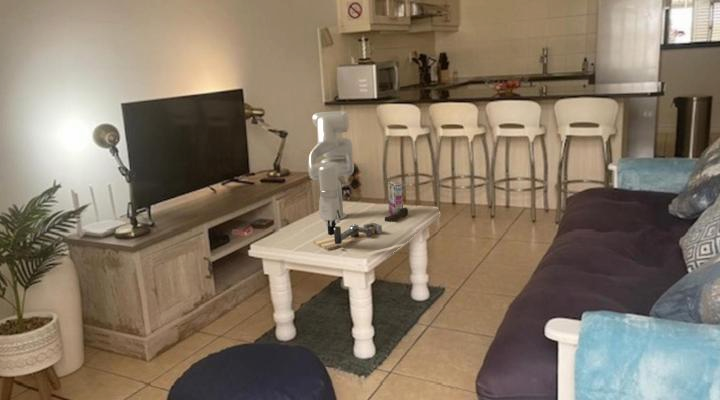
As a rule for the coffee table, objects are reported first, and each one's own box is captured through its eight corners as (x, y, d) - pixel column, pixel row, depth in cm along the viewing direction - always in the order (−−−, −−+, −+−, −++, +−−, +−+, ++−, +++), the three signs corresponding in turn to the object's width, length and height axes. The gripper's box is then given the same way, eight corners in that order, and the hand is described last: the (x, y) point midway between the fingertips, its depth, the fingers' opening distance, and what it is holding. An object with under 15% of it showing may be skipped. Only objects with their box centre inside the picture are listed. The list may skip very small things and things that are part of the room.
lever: (332, 246, 257) (331, 228, 255) (353, 233, 275) (352, 216, 273) (352, 248, 253) (351, 229, 251) (372, 235, 270) (371, 217, 268)
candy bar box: (404, 215, 307) (402, 184, 303) (395, 216, 305) (393, 185, 302) (397, 210, 317) (396, 180, 313) (388, 211, 316) (387, 181, 312)
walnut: (366, 234, 273) (365, 226, 273) (372, 232, 275) (372, 225, 274) (370, 236, 270) (369, 228, 270) (376, 234, 272) (376, 226, 271)
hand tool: (390, 224, 292) (390, 215, 291) (384, 223, 294) (384, 214, 293) (412, 216, 306) (412, 207, 305) (406, 215, 309) (405, 206, 308)
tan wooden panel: (313, 243, 268) (313, 232, 267) (369, 230, 283) (368, 220, 282) (327, 250, 257) (326, 239, 256) (384, 236, 273) (383, 225, 271)
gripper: (311, 193, 259) (315, 233, 263) (333, 197, 248) (336, 239, 252) (325, 190, 264) (328, 229, 268) (346, 194, 253) (349, 235, 257)
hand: (332, 234), depth 260 cm, fingers closed
